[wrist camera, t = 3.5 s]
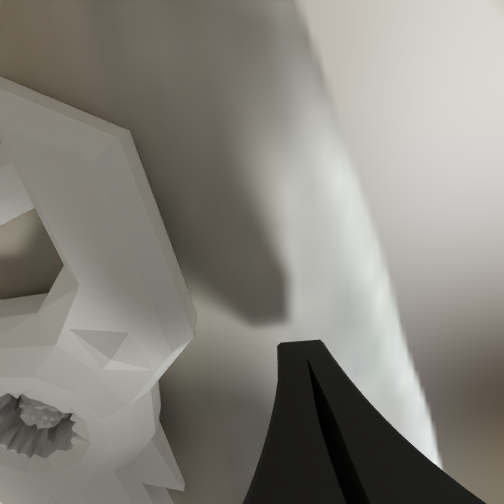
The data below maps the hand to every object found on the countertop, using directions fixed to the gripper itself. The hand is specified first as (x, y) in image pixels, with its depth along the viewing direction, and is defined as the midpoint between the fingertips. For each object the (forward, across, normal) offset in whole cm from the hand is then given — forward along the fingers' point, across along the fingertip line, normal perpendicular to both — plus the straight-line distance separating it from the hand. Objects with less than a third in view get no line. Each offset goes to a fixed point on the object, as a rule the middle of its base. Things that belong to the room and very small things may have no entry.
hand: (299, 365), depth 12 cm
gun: (+2, +8, +1) cm, 8 cm away
